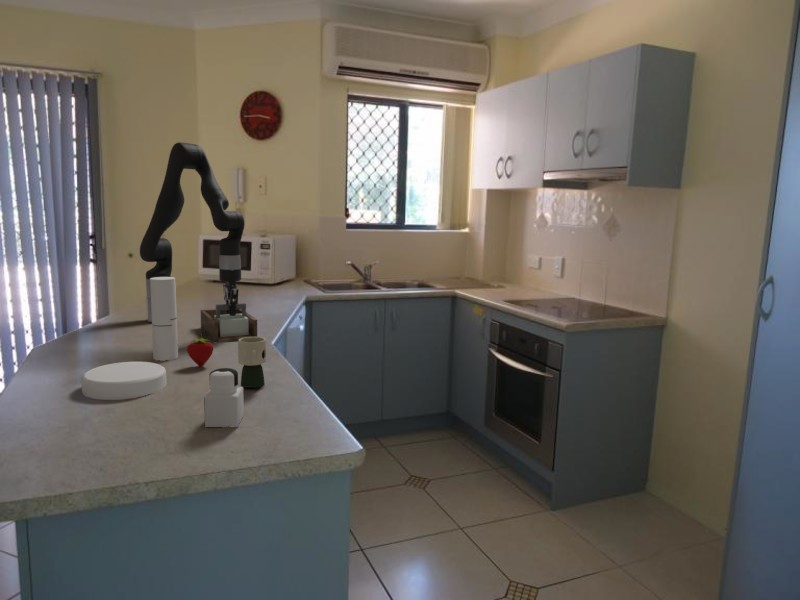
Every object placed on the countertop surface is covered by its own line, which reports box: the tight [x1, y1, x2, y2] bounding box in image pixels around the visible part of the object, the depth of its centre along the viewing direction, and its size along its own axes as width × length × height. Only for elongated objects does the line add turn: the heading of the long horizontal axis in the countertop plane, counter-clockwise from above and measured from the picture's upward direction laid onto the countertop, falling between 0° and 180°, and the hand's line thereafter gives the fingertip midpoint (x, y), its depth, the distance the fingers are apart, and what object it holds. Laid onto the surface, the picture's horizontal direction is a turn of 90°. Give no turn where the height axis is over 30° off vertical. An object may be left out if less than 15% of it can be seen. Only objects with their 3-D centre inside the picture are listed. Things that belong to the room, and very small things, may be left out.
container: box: [80, 361, 167, 401], centre depth 149 cm, size 20×20×5 cm
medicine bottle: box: [203, 367, 245, 428], centre depth 127 cm, size 7×7×12 cm
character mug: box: [237, 336, 267, 389], centre depth 152 cm, size 11×7×13 cm, turn 18°
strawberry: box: [186, 334, 215, 367], centre depth 169 cm, size 6×8×10 cm
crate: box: [214, 302, 249, 337], centre depth 208 cm, size 10×10×11 cm
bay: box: [200, 308, 258, 343], centre depth 213 cm, size 15×26×7 cm, turn 29°
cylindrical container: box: [150, 276, 179, 362], centre depth 176 cm, size 7×7×25 cm
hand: (231, 314), depth 207 cm, fingers open, 4 cm apart
